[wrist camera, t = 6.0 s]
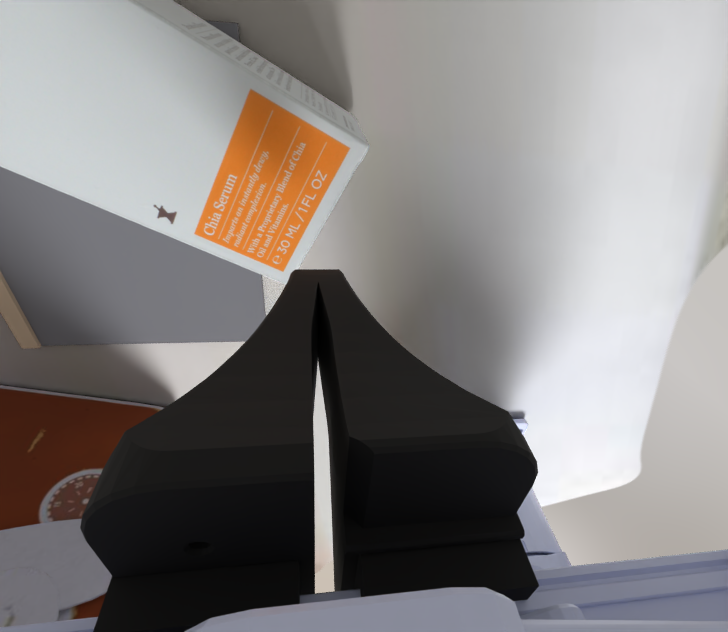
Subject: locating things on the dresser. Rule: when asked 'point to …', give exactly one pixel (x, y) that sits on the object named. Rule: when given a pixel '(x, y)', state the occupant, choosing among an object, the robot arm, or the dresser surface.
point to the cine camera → (53, 500)
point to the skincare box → (172, 127)
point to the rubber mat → (112, 275)
